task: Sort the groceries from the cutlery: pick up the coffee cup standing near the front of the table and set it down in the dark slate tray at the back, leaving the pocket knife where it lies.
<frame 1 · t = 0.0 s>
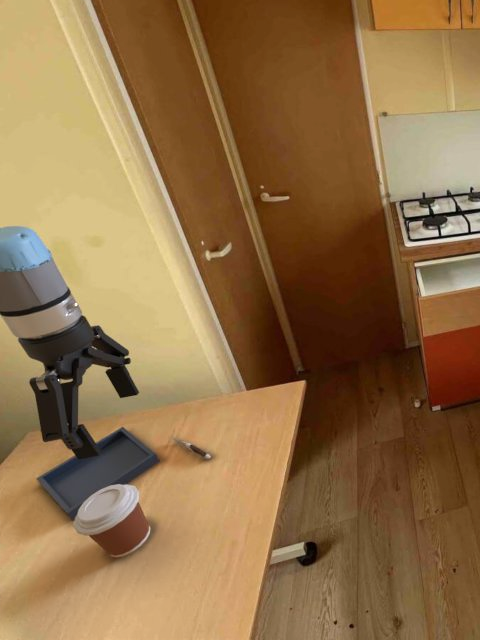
hand: (111, 423, 74), 27 cm above the table, tool pointing down, fingers open, 13 cm apart
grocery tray: (102, 473, 95), on the table
pocket knife: (192, 450, 100), on the table
coffee cup: (130, 540, 82), on the table
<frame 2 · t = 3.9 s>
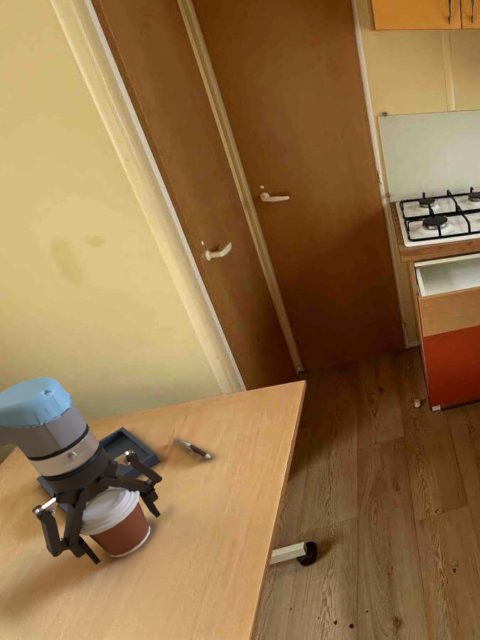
hand: (126, 535, 82), 1 cm above the table, tool pointing down, fingers closed on coffee cup, 9 cm apart
coffee cup: (130, 540, 82), on the table, touching gripper
everything else where it was.
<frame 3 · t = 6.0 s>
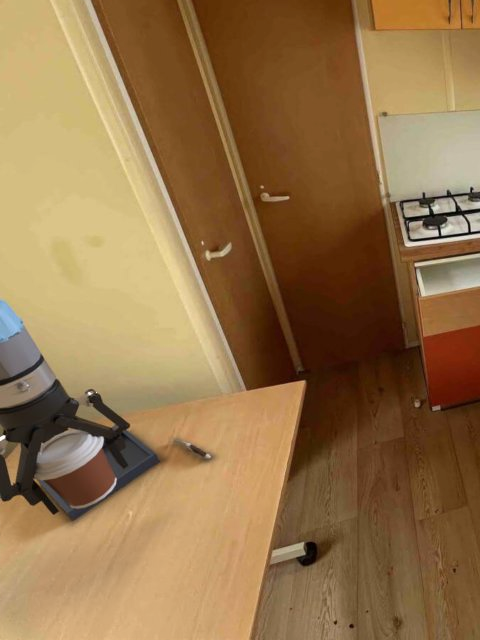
hand: (89, 485, 75), 17 cm above the table, tool pointing down, fingers closed on coffee cup, 9 cm apart
coffee cup: (93, 491, 75), point 15 cm above the table, touching gripper
everything else where it was.
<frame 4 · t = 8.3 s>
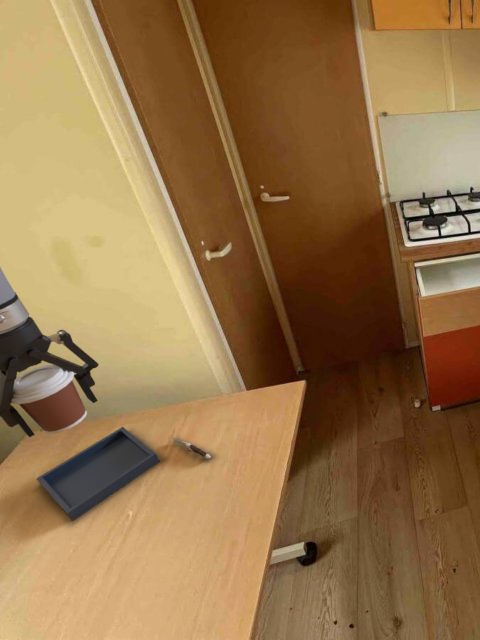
hand: (62, 415, 85), 19 cm above the table, tool pointing down, fingers closed on coffee cup, 9 cm apart
coffee cup: (66, 421, 86), point 17 cm above the table, touching gripper
everything else where it was.
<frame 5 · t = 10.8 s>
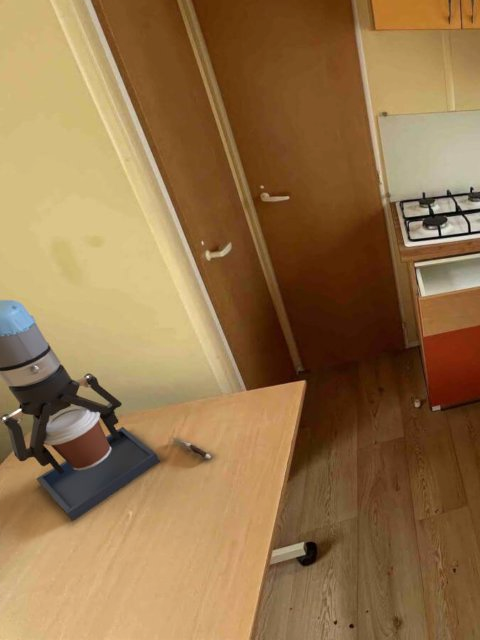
hand: (89, 452, 91), 7 cm above the table, tool pointing down, fingers closed on coffee cup, 9 cm apart
coffee cup: (92, 457, 92), point 5 cm above the table, touching gripper
everything else where it was.
when the fingers open (2 cm above the table, at t = 12.7 s): coffee cup stays where it is, resting on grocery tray.
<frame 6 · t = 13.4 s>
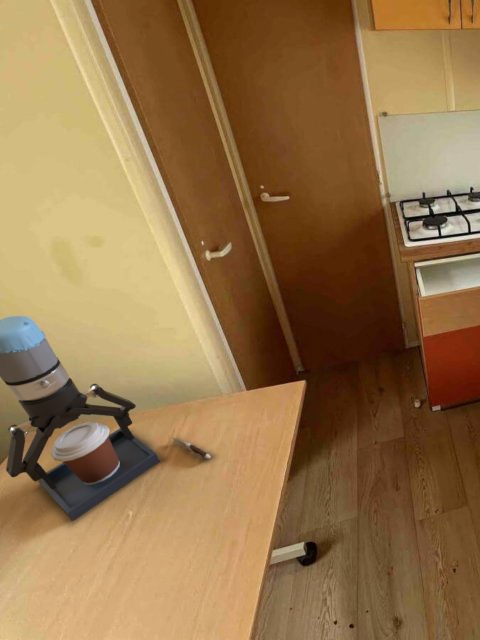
hand: (93, 459, 92), 5 cm above the table, tool pointing down, fingers open, 13 cm apart
coffee cup: (102, 472, 94), resting on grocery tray
everything else where it was.
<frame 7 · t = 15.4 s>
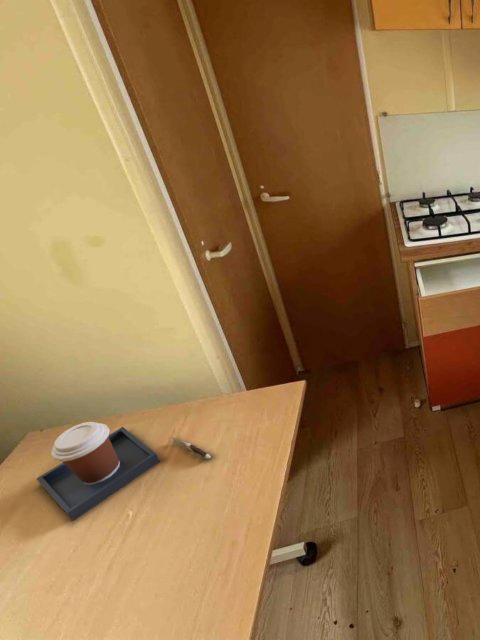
nothing on the table moved.
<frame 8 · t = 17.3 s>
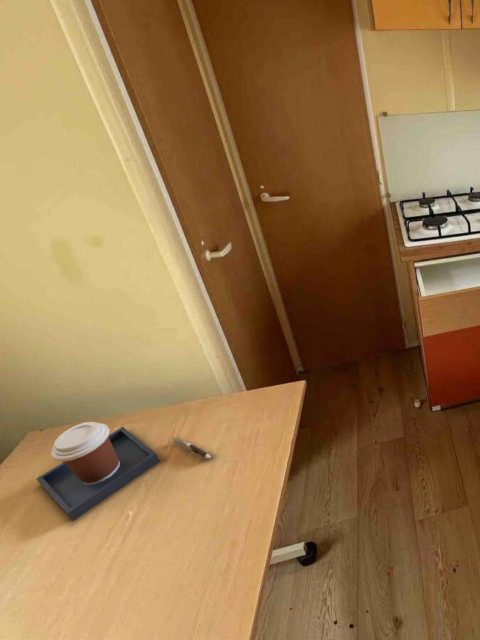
nothing on the table moved.
at the end: coffee cup inside the target area in the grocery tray (0.0 cm from its centre), point 0.4 cm above the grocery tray's base; coffee cup tilted 0°; pocket knife moved 0.2 cm from its start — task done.
